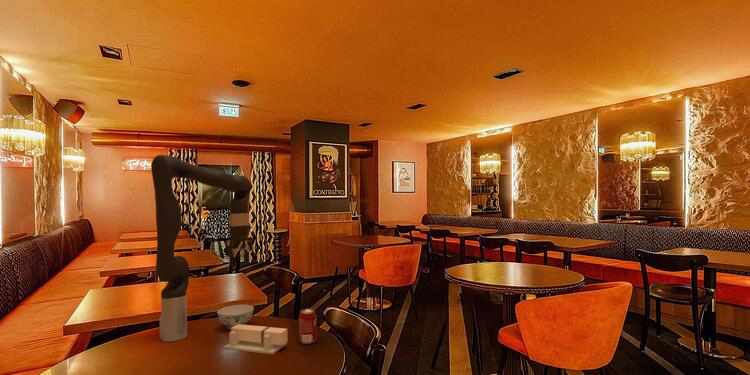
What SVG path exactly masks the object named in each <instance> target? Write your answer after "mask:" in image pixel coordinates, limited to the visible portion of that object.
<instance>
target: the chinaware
mask: <svg viewBox="0 0 750 375" xmlns="http://www.w3.org/2000/svg"><path fill="white" fill-rule="evenodd" d="M253 313H254V306H253V305H249V304H234V305H228V306H224V307H221V308H219V309H218V310H217V313H216V314H217V316H218V319H219V321H220V322H221V323H222V324H223V326H225V327H227V329H228V330H230V331H231V328H232V327H234V326H236V325H238V324H242V325H247V323H248V322H249V320H250V319H251V318H252V316H253Z"/></svg>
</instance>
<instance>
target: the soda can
mask: <svg viewBox="0 0 750 375" xmlns="http://www.w3.org/2000/svg"><path fill="white" fill-rule="evenodd" d="M317 331H318V330H317V314H316V312H315V309H313V308H305V309H301V310H300V313H299V315H298V340H299V342H300V343H301V344H303V345H311V344H313V343H315V342H316V341H317V337H318V335H317Z"/></svg>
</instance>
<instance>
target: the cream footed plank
mask: <svg viewBox="0 0 750 375" xmlns="http://www.w3.org/2000/svg"><path fill="white" fill-rule="evenodd" d="M287 344H288V341H286V342H285V343H284V344H282V345H277V344H271V335H265V336H264V343H259V342H250V341H241V340H237V332H234V331H232V332H231V331H230V332H229V343H228V344H226V345H224V349H225V350H233V351H242V352H251V353H259V354H267V355H274V354H276V353H277V352H278V351H279V350H280V349H282V348H283V347H284V346H286V345H287Z"/></svg>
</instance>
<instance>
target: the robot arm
mask: <svg viewBox="0 0 750 375" xmlns="http://www.w3.org/2000/svg"><path fill="white" fill-rule="evenodd" d="M150 167H151V168H150V169H151V170H150V171H151V176H152V182H153V189H154V199H155V221H156V222H155V224H156V236H157V237H156V240H157V241H156V245H157V246H156V258H155V259H156V260H155V261H156V262H155V271H156V276H157V278H158V279H159V280H160V281H162V282H164V283H165V282H167V284H166V285H165V287H164V288H163V289H162V290H161V292H160V305H161V307H160V308H161V314H160V315H159V340H161V341H162V342H165V343H169V342H177V341H180V340H184V339H185V338H186V337H188V324H187V323H188V319H187V318H188V315H187V307H188V306H187V302H188V301H187V290H188V288H189V278H190V276H189V275H190V268H189V267H190V265H189V262H188V260H187V259H186V257H184V256H182V255H176V256H175V244H176V241H177V239H178V236H179V233H180V231H181V229H182V223H183V220H182V218H183V217H182V208H181V205H180V203H179V201H178V199H177V196H176V195H175V192H174V190H173V182H172V181H173V178H174V179H176V178H178V179H187V180H192V181H195V182H197V183H199V184H203V185H206V186H208V187H209V186H210V187H212V188H217V189H218V188H219V189H221V190H224V191H227V192H229V193H234V194H233V198H232V199H231V200H230V202H229V217H228V218H229V221H228V222H229V223H228V224H229V237H230V238H231V240H225V257H229V265H230V267H236V266H237V257H236V256H237V253H239V251H240V250H242V252H243V262H244V263H250V253H251V252H252V251H254V246H253V245H254V244H253V236H249V235H250V216H249V199H250V193H251V182H250V179H249V178H248V177H247V176H244V175H237V174H231V173H227V172H224V171H222V170H219V169H215V168H211V167H210V168H209V167H206V166H205V167H204V166H200V165H195V164H192V163H189V162H187V161H184V160H182V159H180V158H178V157H176V156H173V155H168V154H167V155H166V154H159V155H156V156H155V157H153V159H152V161H151V166H150Z"/></svg>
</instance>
